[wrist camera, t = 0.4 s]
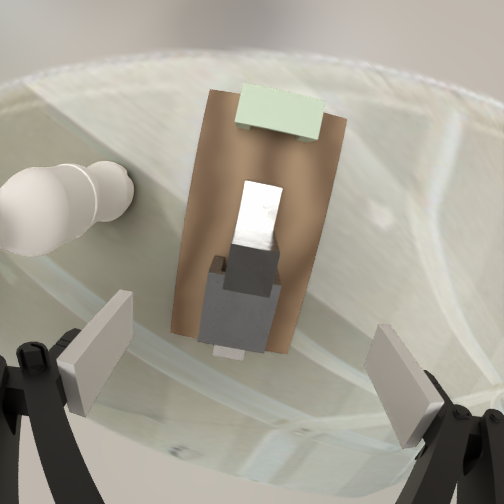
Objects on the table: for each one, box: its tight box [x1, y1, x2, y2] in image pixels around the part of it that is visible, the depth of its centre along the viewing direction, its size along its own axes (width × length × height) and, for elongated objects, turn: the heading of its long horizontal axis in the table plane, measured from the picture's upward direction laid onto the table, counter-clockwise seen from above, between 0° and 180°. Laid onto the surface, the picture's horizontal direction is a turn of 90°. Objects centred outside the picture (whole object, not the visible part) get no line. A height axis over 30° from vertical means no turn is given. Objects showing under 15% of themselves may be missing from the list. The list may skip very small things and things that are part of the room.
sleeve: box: [198, 255, 282, 353], centre depth 37 cm, size 8×8×6 cm
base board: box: [171, 89, 347, 354], centre depth 38 cm, size 16×31×1 cm, turn 169°
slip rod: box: [212, 179, 282, 361], centre depth 33 cm, size 4×21×12 cm, turn 169°
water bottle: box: [0, 161, 134, 257], centre depth 25 cm, size 7×7×25 cm
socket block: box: [235, 83, 326, 143], centre depth 31 cm, size 8×4×6 cm, turn 79°
